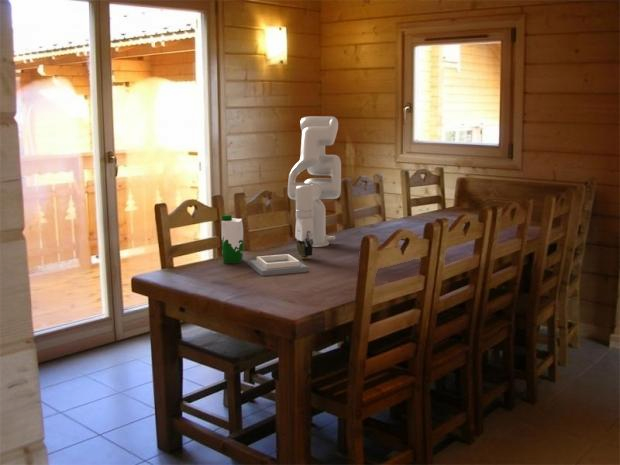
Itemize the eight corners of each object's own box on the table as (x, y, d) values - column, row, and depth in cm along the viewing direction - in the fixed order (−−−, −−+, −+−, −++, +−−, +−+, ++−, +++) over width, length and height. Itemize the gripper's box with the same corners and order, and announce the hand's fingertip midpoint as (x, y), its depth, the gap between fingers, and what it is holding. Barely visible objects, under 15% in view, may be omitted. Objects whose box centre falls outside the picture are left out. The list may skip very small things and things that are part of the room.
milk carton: (223, 259, 312) (222, 213, 309) (244, 259, 312) (243, 213, 308) (221, 263, 304) (219, 216, 300) (242, 263, 304) (241, 216, 300)
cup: (293, 260, 310) (292, 241, 309) (301, 256, 316) (301, 238, 315) (308, 261, 307) (308, 243, 305) (316, 258, 313) (316, 240, 312)
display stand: (292, 261, 307) (292, 252, 306) (307, 271, 289) (307, 261, 289) (249, 265, 301) (248, 255, 300) (261, 275, 283) (261, 265, 282)
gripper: (289, 211, 314) (290, 250, 318) (302, 217, 298) (303, 258, 302) (305, 210, 317) (306, 249, 320) (319, 216, 301) (319, 256, 304)
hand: (304, 253), depth 311 cm, fingers open, 9 cm apart
